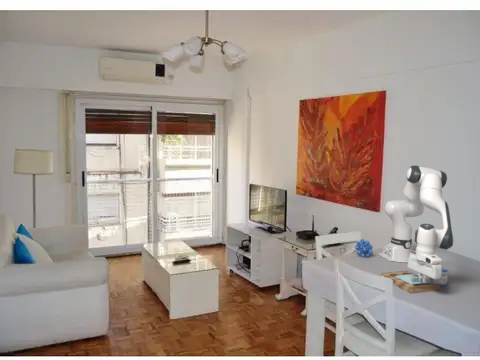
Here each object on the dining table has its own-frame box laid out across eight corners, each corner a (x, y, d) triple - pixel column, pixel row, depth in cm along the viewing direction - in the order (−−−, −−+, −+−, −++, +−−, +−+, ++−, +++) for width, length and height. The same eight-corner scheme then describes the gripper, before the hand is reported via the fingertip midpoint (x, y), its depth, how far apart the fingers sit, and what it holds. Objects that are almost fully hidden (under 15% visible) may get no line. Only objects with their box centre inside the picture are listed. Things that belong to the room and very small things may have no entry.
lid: (395, 277, 238) (395, 271, 238) (414, 275, 242) (414, 270, 242) (411, 284, 226) (412, 279, 226) (431, 282, 231) (431, 277, 230)
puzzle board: (380, 278, 245) (381, 272, 245) (406, 275, 252) (407, 270, 251) (411, 293, 223) (411, 287, 223) (439, 290, 229) (439, 284, 229)
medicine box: (434, 286, 235) (435, 270, 234) (428, 283, 239) (430, 268, 238) (447, 285, 237) (448, 270, 236) (441, 282, 241) (442, 267, 240)
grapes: (355, 258, 283) (356, 240, 282) (353, 255, 290) (354, 237, 289) (373, 259, 283) (375, 241, 281) (371, 256, 289) (372, 238, 288)
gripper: (405, 250, 235) (403, 276, 237) (434, 262, 216) (432, 289, 217) (415, 250, 237) (413, 275, 239) (444, 261, 218) (442, 288, 220)
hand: (422, 282), depth 228 cm, fingers closed
